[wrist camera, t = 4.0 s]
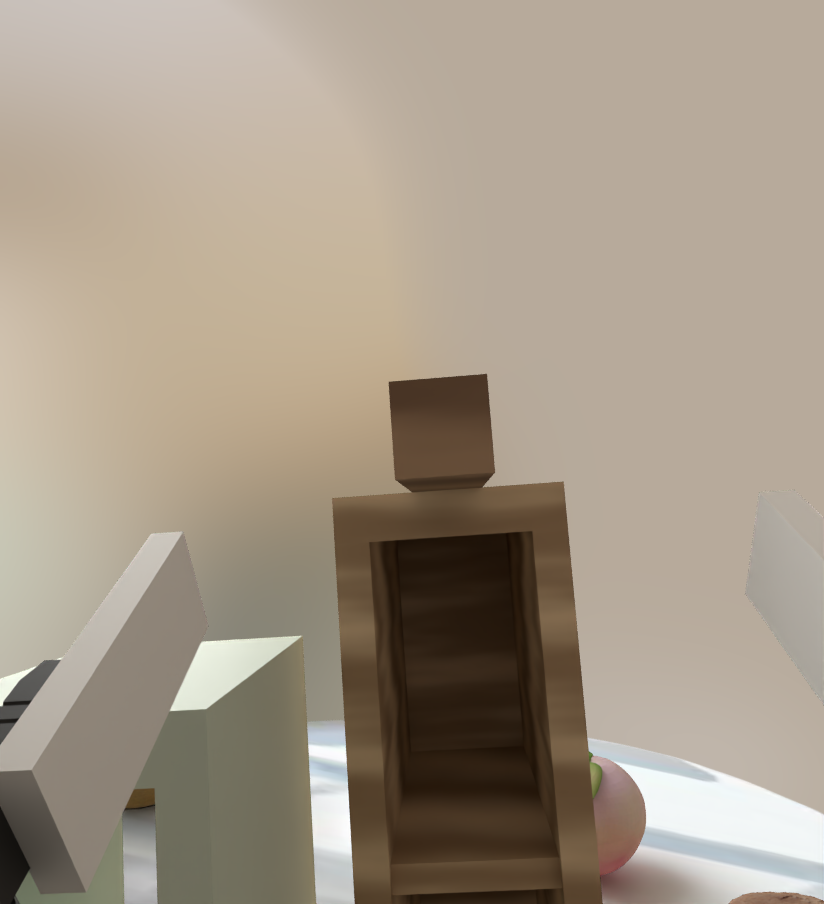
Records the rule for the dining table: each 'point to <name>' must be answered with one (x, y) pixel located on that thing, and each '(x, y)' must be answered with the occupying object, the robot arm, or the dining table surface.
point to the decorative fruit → (615, 813)
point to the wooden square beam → (442, 433)
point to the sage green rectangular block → (223, 785)
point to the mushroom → (776, 898)
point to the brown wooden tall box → (464, 699)
